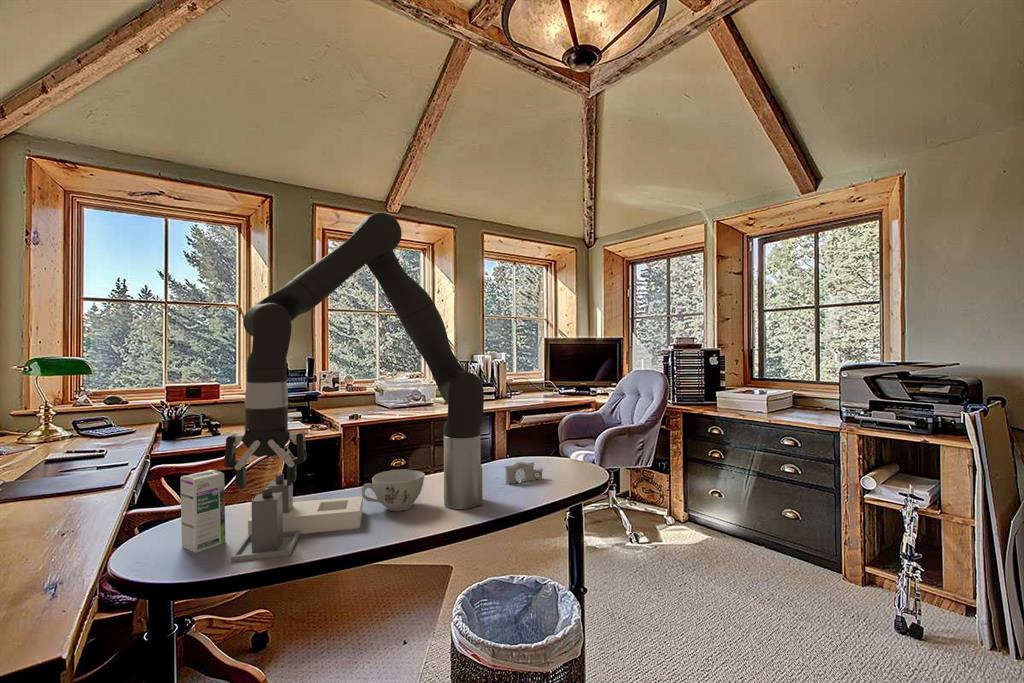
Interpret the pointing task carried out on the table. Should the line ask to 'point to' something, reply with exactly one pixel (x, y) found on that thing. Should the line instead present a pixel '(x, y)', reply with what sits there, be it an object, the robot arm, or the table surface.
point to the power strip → (315, 511)
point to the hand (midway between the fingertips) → (266, 486)
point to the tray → (284, 550)
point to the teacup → (395, 488)
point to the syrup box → (202, 510)
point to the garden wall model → (528, 473)
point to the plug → (267, 521)
